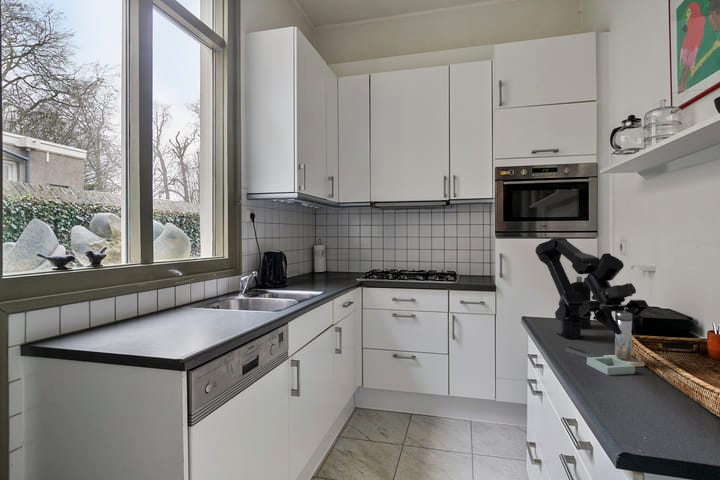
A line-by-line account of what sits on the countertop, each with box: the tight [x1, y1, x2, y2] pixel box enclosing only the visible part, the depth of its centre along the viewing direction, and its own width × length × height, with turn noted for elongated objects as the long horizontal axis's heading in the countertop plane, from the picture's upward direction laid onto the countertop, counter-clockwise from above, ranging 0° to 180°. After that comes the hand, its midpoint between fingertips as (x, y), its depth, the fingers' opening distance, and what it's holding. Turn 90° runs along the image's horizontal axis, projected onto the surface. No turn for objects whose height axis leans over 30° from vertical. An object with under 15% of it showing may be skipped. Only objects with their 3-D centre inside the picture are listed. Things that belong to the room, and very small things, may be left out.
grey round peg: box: [614, 311, 633, 359], centre depth 110 cm, size 4×4×13 cm
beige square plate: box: [603, 354, 646, 368], centre depth 110 cm, size 7×7×1 cm
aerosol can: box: [570, 275, 592, 330], centre depth 149 cm, size 8×8×20 cm
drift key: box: [565, 346, 595, 359], centre depth 118 cm, size 8×2×1 cm, turn 25°
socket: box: [586, 356, 636, 376], centre depth 106 cm, size 8×8×2 cm
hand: (626, 333), depth 109 cm, fingers open, 4 cm apart
